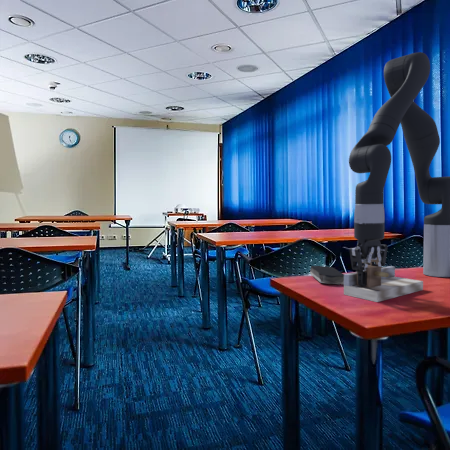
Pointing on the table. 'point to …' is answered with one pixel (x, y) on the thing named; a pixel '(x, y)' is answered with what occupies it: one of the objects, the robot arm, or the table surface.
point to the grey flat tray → (388, 287)
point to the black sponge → (327, 275)
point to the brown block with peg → (374, 276)
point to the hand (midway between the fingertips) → (368, 283)
